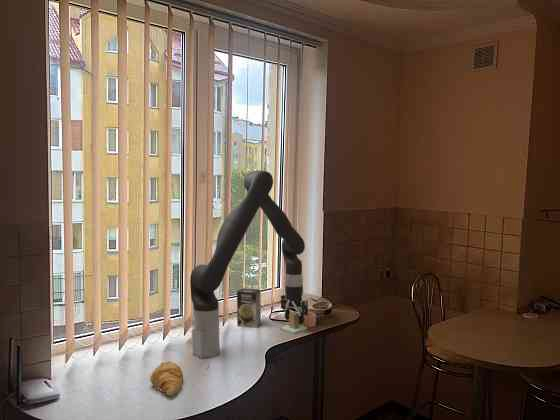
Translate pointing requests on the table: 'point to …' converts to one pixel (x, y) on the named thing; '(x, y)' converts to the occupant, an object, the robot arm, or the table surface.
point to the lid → (294, 324)
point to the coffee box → (248, 308)
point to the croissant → (167, 378)
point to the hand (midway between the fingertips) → (294, 321)
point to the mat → (295, 333)
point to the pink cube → (309, 320)
